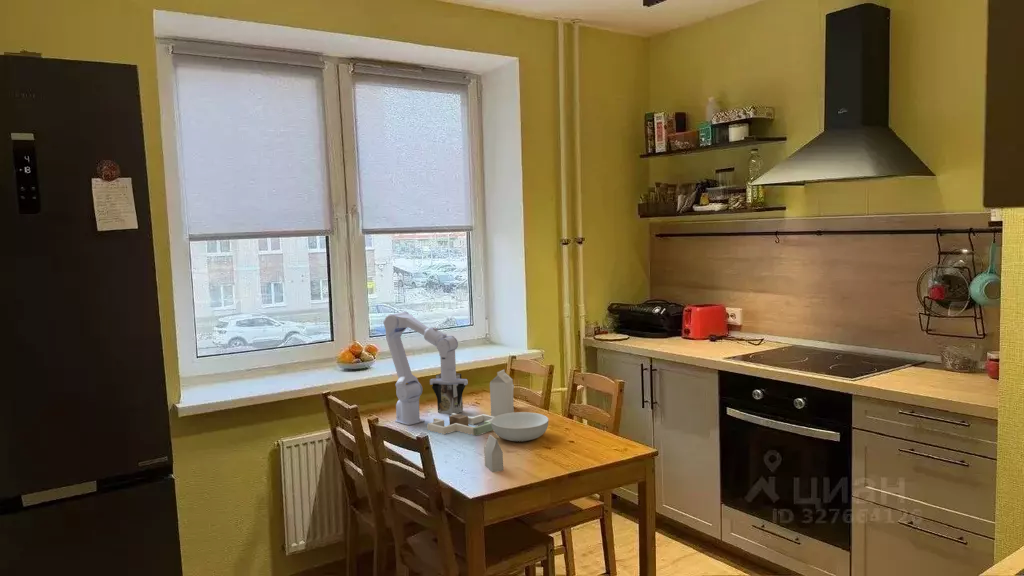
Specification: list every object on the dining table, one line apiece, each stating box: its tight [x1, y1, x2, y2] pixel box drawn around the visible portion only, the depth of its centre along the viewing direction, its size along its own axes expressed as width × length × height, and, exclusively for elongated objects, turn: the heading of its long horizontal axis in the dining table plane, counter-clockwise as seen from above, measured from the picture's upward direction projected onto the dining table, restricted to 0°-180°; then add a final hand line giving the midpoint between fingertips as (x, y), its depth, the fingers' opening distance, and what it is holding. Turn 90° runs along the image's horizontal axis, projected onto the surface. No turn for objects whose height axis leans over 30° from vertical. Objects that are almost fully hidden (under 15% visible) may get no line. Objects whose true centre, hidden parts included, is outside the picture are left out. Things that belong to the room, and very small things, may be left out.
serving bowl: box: [491, 411, 550, 443], centre depth 256 cm, size 21×21×7 cm
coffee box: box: [435, 372, 464, 415], centre depth 296 cm, size 9×6×16 cm
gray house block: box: [483, 434, 504, 473], centre depth 224 cm, size 4×7×10 cm, turn 22°
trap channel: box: [426, 413, 494, 437], centre depth 273 cm, size 24×23×3 cm
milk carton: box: [489, 369, 515, 417], centre depth 285 cm, size 7×7×19 cm
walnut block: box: [448, 413, 470, 426], centre depth 275 cm, size 6×4×4 cm
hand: (449, 403), depth 273 cm, fingers open, 7 cm apart
